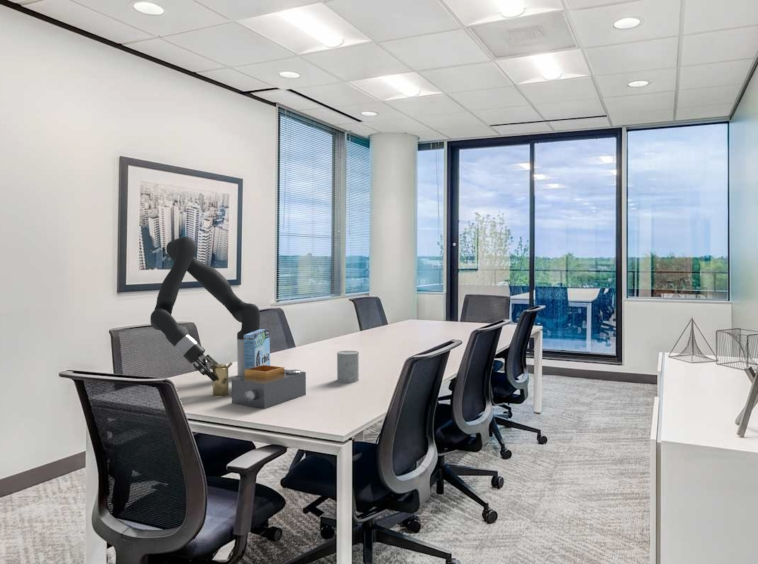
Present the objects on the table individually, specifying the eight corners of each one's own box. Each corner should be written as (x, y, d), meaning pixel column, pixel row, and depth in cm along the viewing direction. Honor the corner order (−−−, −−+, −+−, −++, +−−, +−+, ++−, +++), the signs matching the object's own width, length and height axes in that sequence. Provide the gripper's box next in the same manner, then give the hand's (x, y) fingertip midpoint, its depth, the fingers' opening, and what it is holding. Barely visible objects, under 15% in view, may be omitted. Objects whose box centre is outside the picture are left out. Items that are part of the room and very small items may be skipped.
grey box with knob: (274, 389, 230) (274, 361, 230) (305, 394, 222) (305, 365, 222) (225, 404, 207) (225, 373, 207) (258, 410, 199) (258, 378, 199)
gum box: (255, 391, 228) (254, 335, 227) (243, 391, 228) (242, 335, 227) (271, 381, 247) (270, 329, 246) (259, 380, 248) (259, 328, 247)
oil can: (210, 396, 219) (210, 363, 219) (215, 393, 225) (214, 361, 225) (230, 396, 219) (230, 363, 219) (234, 393, 225) (234, 360, 225)
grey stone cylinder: (362, 379, 251) (362, 351, 250) (352, 383, 242) (352, 355, 241) (343, 377, 255) (343, 350, 254) (333, 381, 246) (333, 353, 245)
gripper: (190, 344, 214) (220, 374, 215) (202, 339, 229) (231, 367, 229) (176, 358, 215) (207, 388, 215) (189, 352, 229) (218, 380, 229)
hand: (219, 377), depth 222 cm, fingers open, 8 cm apart
